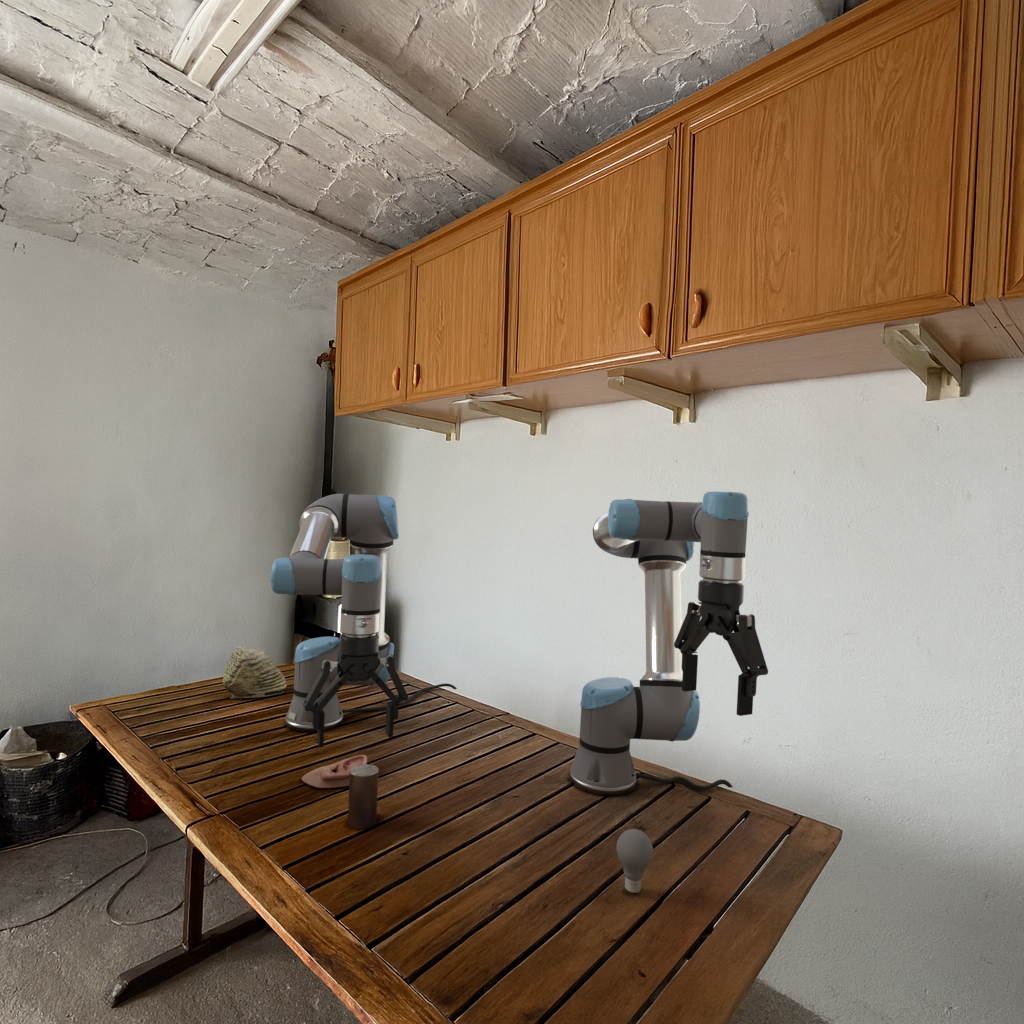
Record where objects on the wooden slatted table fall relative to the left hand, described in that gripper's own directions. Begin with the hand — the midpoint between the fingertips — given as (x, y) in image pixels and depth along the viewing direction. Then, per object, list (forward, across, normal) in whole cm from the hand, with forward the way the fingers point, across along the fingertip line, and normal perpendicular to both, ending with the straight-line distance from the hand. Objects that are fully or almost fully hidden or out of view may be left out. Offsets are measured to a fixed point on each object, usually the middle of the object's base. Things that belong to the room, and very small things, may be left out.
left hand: (355, 740), depth 125 cm
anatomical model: (+16, 0, +19) cm, 24 cm away
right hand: (-16, +52, -43) cm, 69 cm away
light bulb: (+15, +37, -41) cm, 58 cm away
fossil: (+16, -11, +86) cm, 89 cm away
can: (+16, +1, -2) cm, 16 cm away
